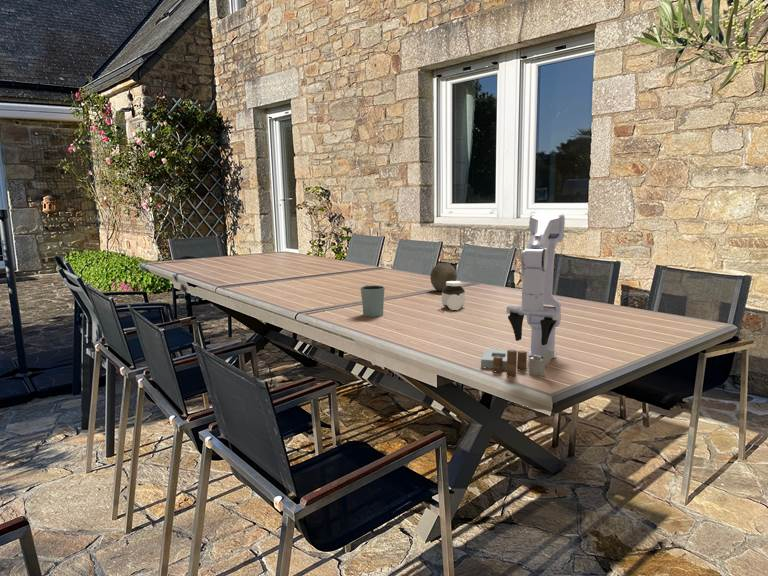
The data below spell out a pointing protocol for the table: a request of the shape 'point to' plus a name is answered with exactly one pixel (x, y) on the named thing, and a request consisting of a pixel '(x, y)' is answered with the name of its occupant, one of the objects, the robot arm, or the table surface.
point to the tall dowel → (511, 362)
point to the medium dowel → (522, 360)
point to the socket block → (488, 357)
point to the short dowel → (497, 363)
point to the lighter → (540, 363)
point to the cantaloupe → (442, 275)
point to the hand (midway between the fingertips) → (531, 342)
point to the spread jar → (453, 295)
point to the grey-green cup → (372, 300)
